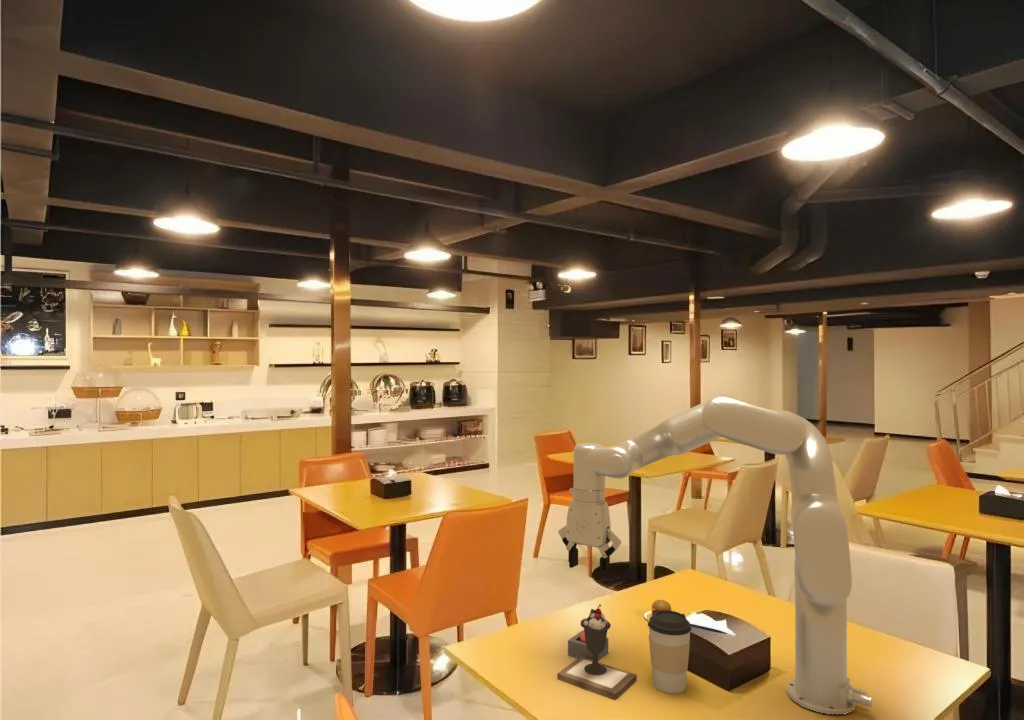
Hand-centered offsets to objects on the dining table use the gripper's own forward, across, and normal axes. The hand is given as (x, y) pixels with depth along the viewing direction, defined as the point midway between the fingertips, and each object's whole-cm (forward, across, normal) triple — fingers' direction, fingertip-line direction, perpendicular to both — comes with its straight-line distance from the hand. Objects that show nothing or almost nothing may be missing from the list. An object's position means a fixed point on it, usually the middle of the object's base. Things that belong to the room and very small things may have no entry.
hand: (588, 569), depth 145 cm
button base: (+20, 0, 0) cm, 20 cm away
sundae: (+19, +6, -8) cm, 22 cm away
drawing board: (+20, +8, -10) cm, 23 cm away
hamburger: (+21, +5, +30) cm, 37 cm away
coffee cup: (+20, +21, -2) cm, 29 cm away
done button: (+17, 0, 0) cm, 17 cm away
